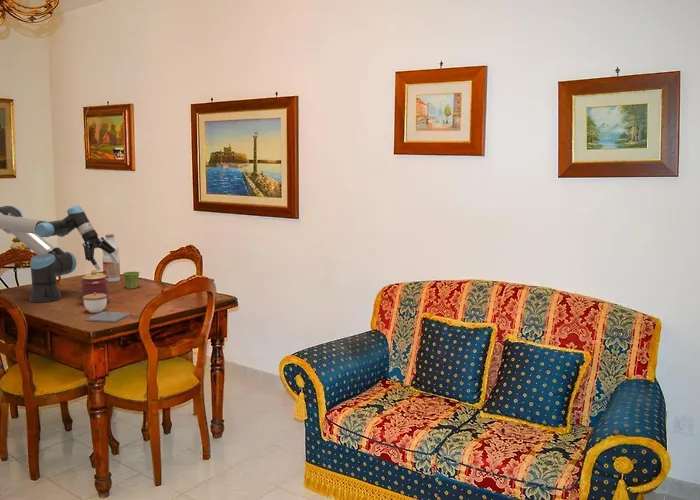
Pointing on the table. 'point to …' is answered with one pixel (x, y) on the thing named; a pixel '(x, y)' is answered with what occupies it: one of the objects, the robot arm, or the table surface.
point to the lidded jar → (95, 302)
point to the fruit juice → (108, 265)
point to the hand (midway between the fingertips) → (108, 266)
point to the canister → (94, 284)
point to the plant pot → (131, 279)
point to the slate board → (108, 317)
